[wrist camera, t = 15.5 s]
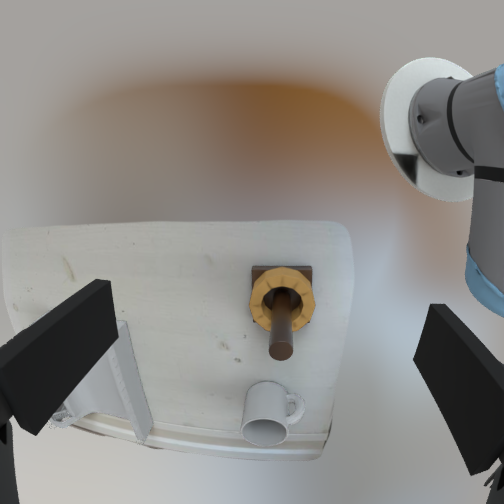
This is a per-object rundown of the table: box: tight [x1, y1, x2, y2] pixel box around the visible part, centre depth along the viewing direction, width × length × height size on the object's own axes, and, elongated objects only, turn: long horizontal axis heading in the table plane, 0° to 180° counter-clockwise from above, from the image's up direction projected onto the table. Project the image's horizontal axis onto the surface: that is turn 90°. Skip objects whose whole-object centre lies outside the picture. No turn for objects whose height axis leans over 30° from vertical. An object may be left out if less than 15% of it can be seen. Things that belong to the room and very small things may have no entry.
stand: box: [252, 266, 312, 361], centre depth 36 cm, size 8×8×14 cm
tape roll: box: [249, 267, 315, 332], centre depth 40 cm, size 8×8×3 cm
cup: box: [241, 381, 305, 447], centre depth 44 cm, size 7×10×9 cm
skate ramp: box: [29, 311, 154, 445], centre depth 47 cm, size 25×23×10 cm
